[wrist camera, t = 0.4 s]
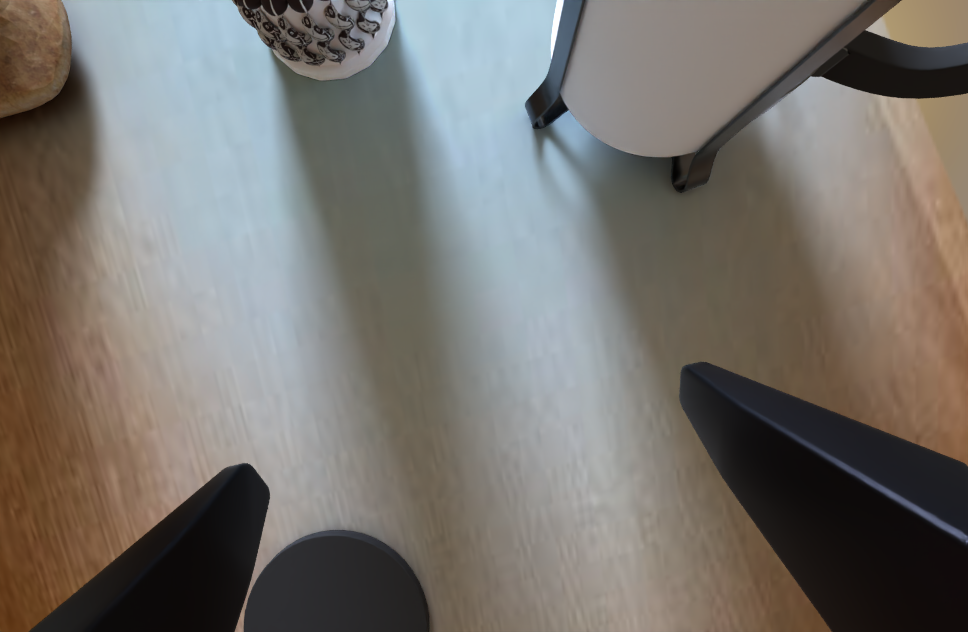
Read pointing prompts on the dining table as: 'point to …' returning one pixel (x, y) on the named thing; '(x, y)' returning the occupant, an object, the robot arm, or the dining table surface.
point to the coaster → (337, 588)
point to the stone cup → (32, 53)
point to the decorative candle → (322, 33)
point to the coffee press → (719, 69)
